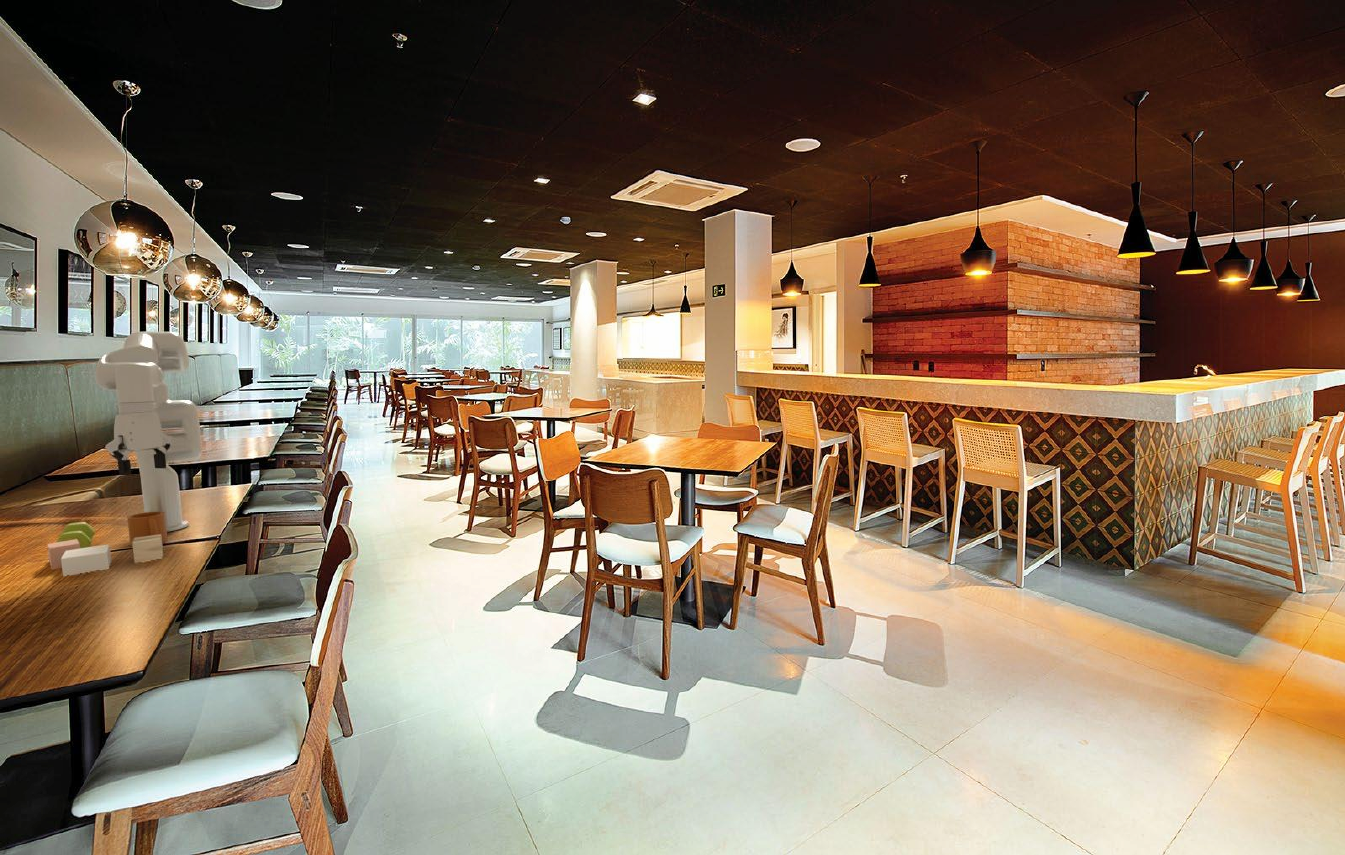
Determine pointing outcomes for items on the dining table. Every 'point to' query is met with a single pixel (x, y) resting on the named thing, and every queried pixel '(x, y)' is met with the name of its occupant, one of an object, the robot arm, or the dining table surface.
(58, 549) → the pink cube
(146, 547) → the maple cube
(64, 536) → the dumbbell
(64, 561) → the base block
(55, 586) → the dining table surface
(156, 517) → the mug
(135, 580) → the dining table surface
